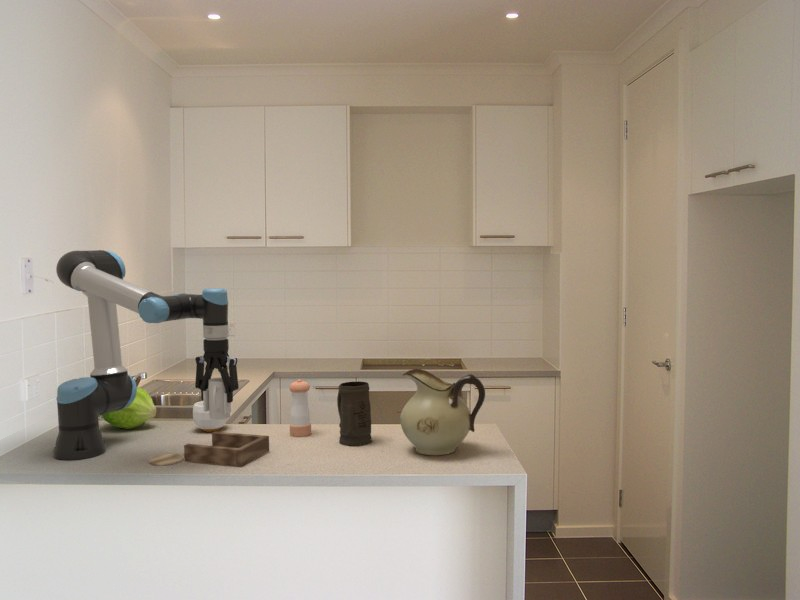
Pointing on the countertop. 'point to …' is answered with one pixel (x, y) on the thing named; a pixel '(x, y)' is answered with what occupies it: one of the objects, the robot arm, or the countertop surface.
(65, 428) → the robot arm
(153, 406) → the lettuce
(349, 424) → the beer stein
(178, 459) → the coaster
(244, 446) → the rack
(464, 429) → the pitcher
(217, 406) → the mug
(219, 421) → the white bowl
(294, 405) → the salt shaker
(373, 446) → the countertop surface
